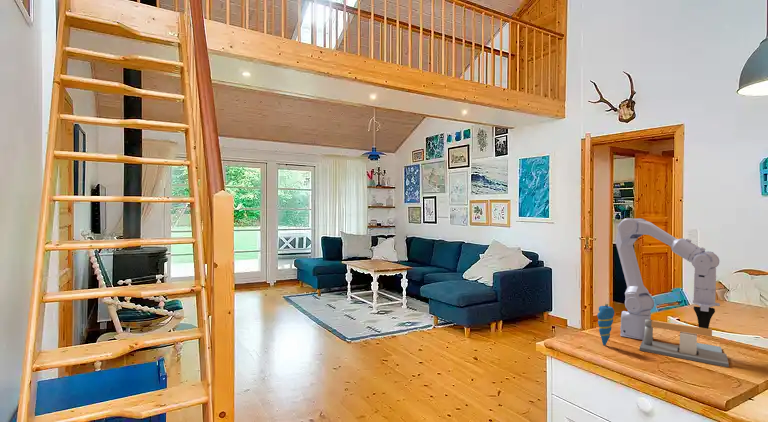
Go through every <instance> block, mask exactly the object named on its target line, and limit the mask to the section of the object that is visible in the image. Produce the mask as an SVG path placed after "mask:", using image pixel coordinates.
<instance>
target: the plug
mask: <svg viewBox="0 0 768 422" xmlns="http://www.w3.org/2000/svg"><path fill="white" fill-rule="evenodd" d="M679 332H680V331H679ZM697 343H698V334H693V333H687V332H680V333H679V346H680V351H678V352H681V353H686V354H692V355H697V354H696V349H697Z"/></svg>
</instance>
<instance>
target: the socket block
mask: <svg viewBox="0 0 768 422" xmlns="http://www.w3.org/2000/svg"><path fill="white" fill-rule="evenodd" d="M653 335H654V327H648V326H645V332H644V339H643V340H641V343H640V346H639V349H638V350H639V351H641V352H647V353H650V354H651V353H652V354H656V355H661V356H662V355H663V356H667V357H673V358H678V359H683V360H687V361H694V362H699V363H703V364H709V365H714V366H719V367H725V368H729V359H728V355H727V353H725V352H724V353H723V352H722V353H719V352H713V351H707V350H702V349H696V355H692V354H686V353H681V352H679V351H680V344H673V343H668V342H661V341H656V340H655V341H654V340H653Z"/></svg>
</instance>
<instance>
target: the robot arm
mask: <svg viewBox="0 0 768 422" xmlns="http://www.w3.org/2000/svg"><path fill="white" fill-rule="evenodd" d="M643 235H647V236H650V237H652V238H654V239H656V240H658V241H660V242H661V243H663V244H665V245H668V246H669V247H670V248H671V251H672V253H674V254H675V255H677V256H679V257H681V258H683V260H686V261H687V262H689V263H691V265H692V266H693V268H694V276H693V277H694V279H693V300H692V304H694V305H696V306H693V311H694V313H695V314H696V318H697V324H698V327H700V328H707V329H710V328H709V327H710V323H711V320H712V317H713V315H714V314H715V313H716V309H715V307H720V306H721V303H720V302H716V296H717V295H716V294H717V292H716V290H717V268H718V266H719V265H720V258H719V256H718V255H717V254H716V253H714V251H709V250H707V251H706V248H704V247H700V246H698V245H696V244H695V243H694V242H692V240H691V239H689V238H684V237H683V238H676V237H675V236H673V235H671V234H670V233H668V232H667V231H665V230H663V229H662V228H660V227H658V226H657V225H655V224H654V223H653V222H651V221H648V220H646V219H644V218H640V217H639V218H631V217H626V218H623V219H622V220H621V221H620V222H619V223H618V224H617V233H616V238H615V246H616V249H617V253H618V257H619V260H620V264H621V268H622V273H623V275H624V280H625V283H626V289H625V292H624V296H625V298H624V299H625V300H624V306H625V309H626V310H627V311H626V310H622V311H621V315H620V328H619V330H620V334H619V336H620V337H623V338H629V339H636V340H639V341H640V340H641V341H643V339H644V332H645V319H649V320H652V319H651V317H652V316H651V315H652V313H651V310H653V309H654V308H655V300H654V299H653V297H652V296H651V294H650V292H649V290H648V289H647V287H646V286H645V285H644V282H643V278H642V274H641V271H640V267H639V263H638V259H637V257H636V256H637V255H636V252H635V247H634V244H635V242H636V241H637V240H638V239H639V238H640V237H642V236H643Z"/></svg>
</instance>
